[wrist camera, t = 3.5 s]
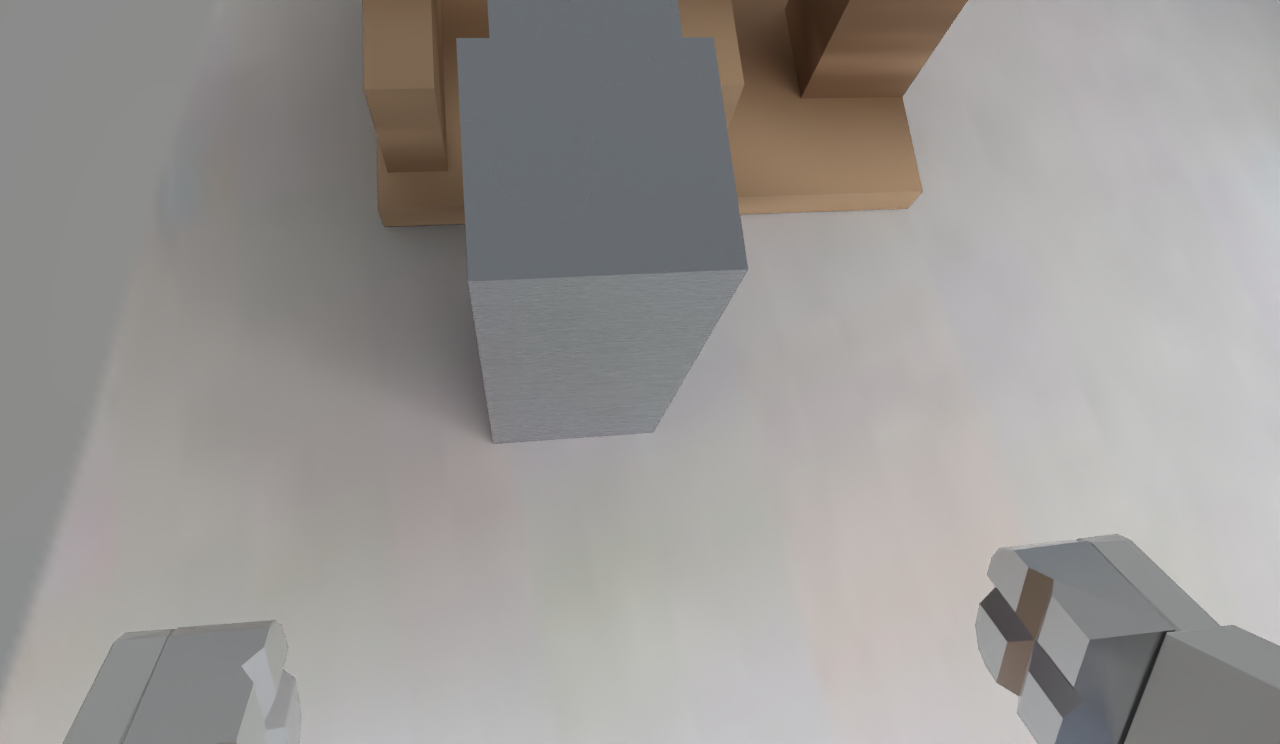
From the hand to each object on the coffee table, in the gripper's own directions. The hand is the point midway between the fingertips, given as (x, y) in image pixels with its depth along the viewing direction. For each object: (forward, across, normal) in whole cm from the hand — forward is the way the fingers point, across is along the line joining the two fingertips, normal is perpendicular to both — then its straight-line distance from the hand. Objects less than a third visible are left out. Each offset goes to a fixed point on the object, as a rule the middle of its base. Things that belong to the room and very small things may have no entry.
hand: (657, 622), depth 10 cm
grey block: (+13, 0, +3) cm, 13 cm away
